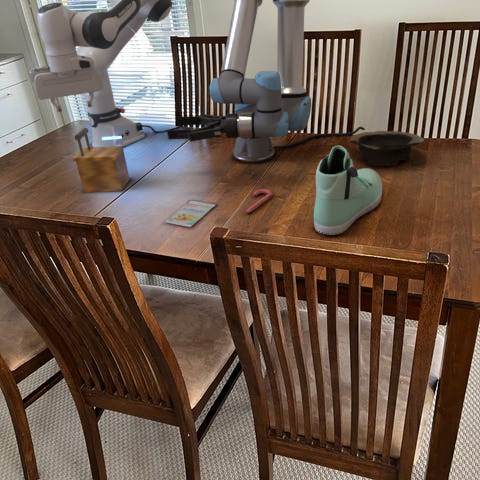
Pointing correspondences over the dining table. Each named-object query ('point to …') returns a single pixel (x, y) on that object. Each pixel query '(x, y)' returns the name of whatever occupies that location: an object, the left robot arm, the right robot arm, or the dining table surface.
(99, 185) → the chest
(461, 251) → the dining table surface
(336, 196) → the sneaker
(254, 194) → the candy cane
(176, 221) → the baking ingredient package
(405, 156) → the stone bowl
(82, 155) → the lid
